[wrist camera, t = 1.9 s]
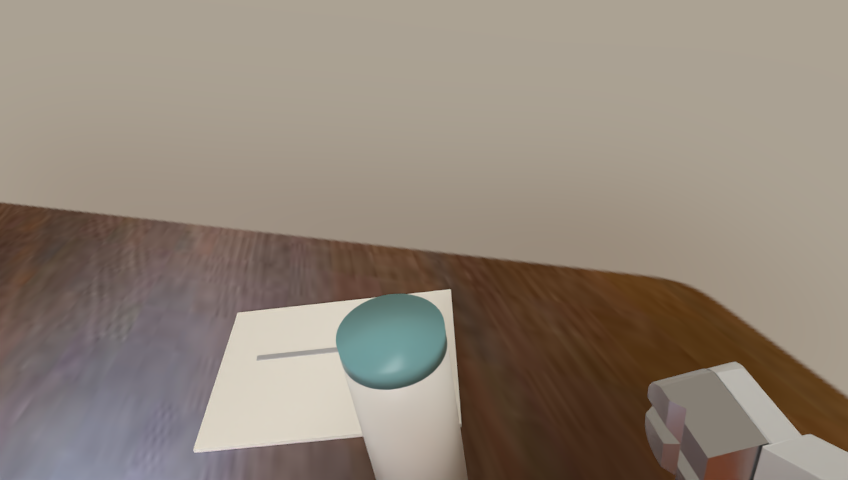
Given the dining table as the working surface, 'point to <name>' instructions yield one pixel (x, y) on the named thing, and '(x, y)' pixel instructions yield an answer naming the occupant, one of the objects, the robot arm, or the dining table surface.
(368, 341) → the marker
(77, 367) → the dining table surface
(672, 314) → the dining table surface
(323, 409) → the paper
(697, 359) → the dining table surface
